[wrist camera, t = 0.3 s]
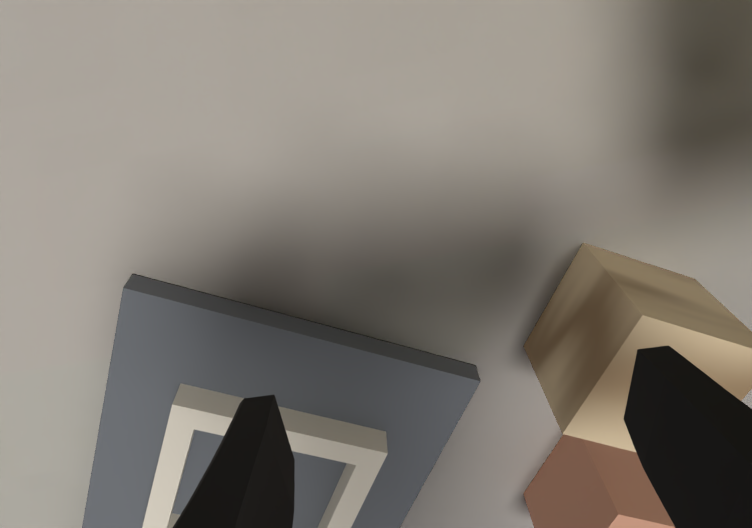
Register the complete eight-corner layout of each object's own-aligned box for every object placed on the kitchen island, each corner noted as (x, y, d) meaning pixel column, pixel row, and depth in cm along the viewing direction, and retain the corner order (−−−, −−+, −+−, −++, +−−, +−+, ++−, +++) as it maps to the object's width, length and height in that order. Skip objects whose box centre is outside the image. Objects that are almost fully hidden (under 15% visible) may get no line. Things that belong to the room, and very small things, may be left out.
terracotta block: (611, 512, 29) (658, 612, 24) (522, 492, 28) (555, 592, 23) (666, 442, 26) (729, 539, 22) (572, 418, 26) (618, 514, 21)
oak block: (626, 373, 24) (687, 465, 20) (522, 345, 23) (562, 433, 19) (693, 278, 22) (778, 356, 18) (582, 241, 21) (642, 315, 17)
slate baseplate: (354, 590, 31) (354, 632, 29) (84, 542, 28) (65, 586, 26) (475, 365, 24) (486, 401, 22) (132, 273, 21) (110, 306, 19)
